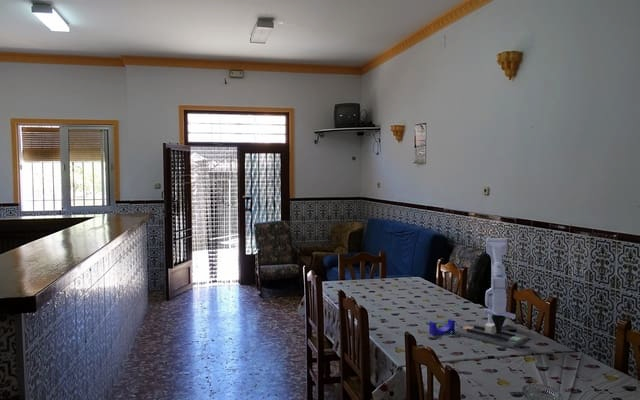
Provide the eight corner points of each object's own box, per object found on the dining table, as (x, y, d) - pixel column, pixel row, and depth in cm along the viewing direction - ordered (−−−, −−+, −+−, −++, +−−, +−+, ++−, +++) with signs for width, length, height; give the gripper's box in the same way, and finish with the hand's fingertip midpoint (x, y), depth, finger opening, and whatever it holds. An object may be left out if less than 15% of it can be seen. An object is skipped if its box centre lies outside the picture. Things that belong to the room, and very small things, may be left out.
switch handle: (489, 331, 236) (490, 323, 235) (496, 332, 233) (496, 324, 233) (485, 333, 232) (485, 325, 232) (491, 335, 230) (491, 326, 230)
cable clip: (449, 330, 243) (449, 318, 243) (454, 333, 239) (454, 320, 239) (427, 332, 240) (427, 320, 239) (432, 335, 235) (432, 323, 235)
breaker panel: (471, 326, 248) (471, 321, 248) (527, 339, 229) (527, 333, 229) (454, 334, 237) (454, 328, 237) (512, 348, 217) (512, 342, 217)
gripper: (480, 301, 231) (479, 329, 232) (510, 306, 221) (510, 336, 222) (487, 298, 236) (486, 326, 237) (517, 303, 226) (517, 333, 227)
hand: (498, 331), depth 230 cm, fingers closed
